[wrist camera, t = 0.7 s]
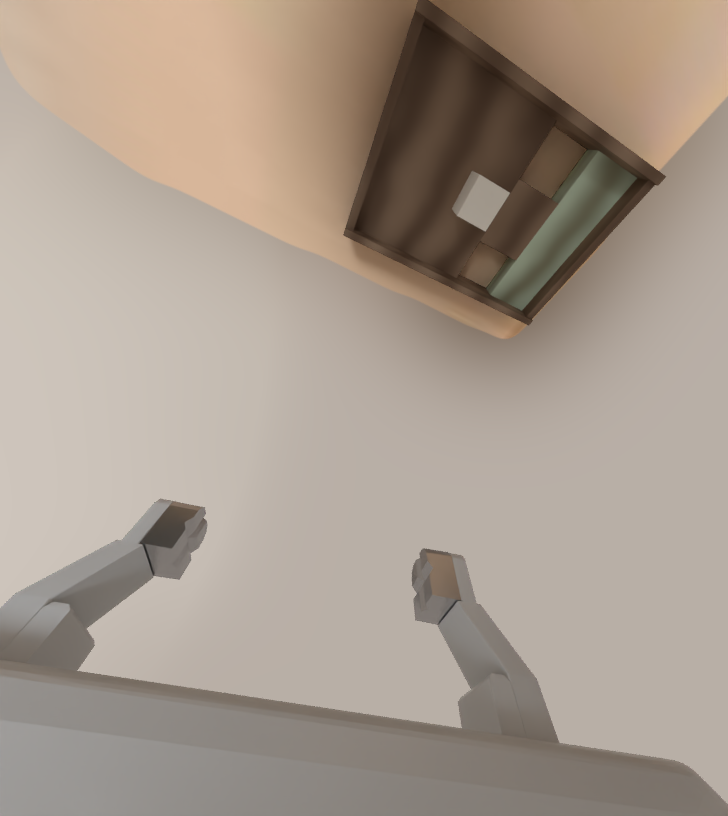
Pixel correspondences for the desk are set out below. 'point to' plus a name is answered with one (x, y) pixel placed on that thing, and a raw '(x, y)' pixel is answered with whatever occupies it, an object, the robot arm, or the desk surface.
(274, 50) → the desk surface
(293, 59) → the desk surface
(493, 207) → the block
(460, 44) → the dark brown rimmed tray
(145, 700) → the robot arm
